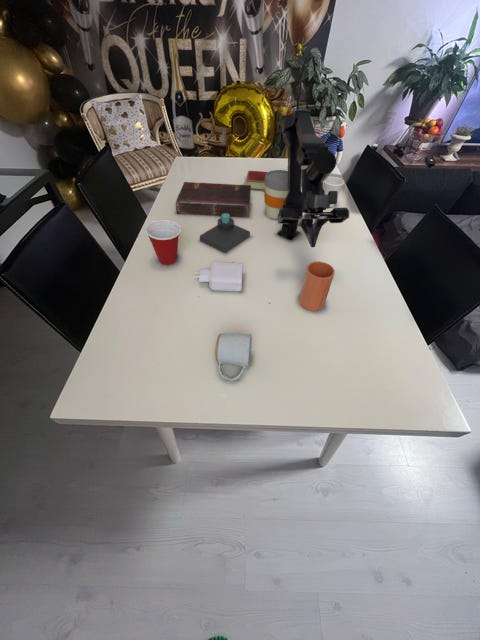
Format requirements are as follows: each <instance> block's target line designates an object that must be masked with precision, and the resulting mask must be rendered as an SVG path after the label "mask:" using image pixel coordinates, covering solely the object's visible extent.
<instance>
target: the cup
mask: <svg viewBox="0 0 480 640" xmlns="http://www.w3.org/2000/svg"><path fill="white" fill-rule="evenodd" d="M334 276H335V268H334V267H333V266H332V265H331V264H330V263H327V262H324V261H312V262H310V263H309V264H307V266H306V270H305V274H304V278H303V282H302V283H303V284H302V287H301V291H300V295H299V301H298V302H299V305H300V306H301V308H303V309H305V310H307V311H310V312H318V311H320V310H322V309H323V308H324V306H325V304H326V300H327V298H328V294H329V292H330V288H331V285H332V282H333V279H334Z"/></svg>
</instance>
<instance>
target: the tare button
mask: <svg viewBox="0 0 480 640" xmlns="http://www.w3.org/2000/svg"><path fill="white" fill-rule="evenodd" d="M221 217H222V223H230V218H231V217H230V215H229V214H227V213H225V214H222V216H221Z"/></svg>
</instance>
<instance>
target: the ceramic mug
mask: <svg viewBox="0 0 480 640" xmlns="http://www.w3.org/2000/svg"><path fill="white" fill-rule="evenodd" d="M252 344H253V336H252V334H249V333H233V332H232V333H230V332H228V333H227V332H222V333H219V334H218V335H217V337H216V340H215V345H214V347H215V348H214V358H215V361H216V363H218V372H219V375H220V376H221V377H222V378H223V379H224V380H226V381H230V382H233V381H237V380H238V379H240V378H241V377H242V376H243V373H244V371H245V369H246V368H249V367H250V363H251V355H252V347H253V346H252ZM222 365H231V366H235V367H240V368H242V369H241V370H240V372H239V374H238V375H236V376H235V377H231V376H228V375H227V374H224V373H223V372H222Z"/></svg>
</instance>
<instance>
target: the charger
mask: <svg viewBox="0 0 480 640" xmlns="http://www.w3.org/2000/svg"><path fill="white" fill-rule="evenodd" d="M243 268H244V263H243V262H225V261H224V262H223V261H214V262H212V263H211V265H210V268H206V269H205V268H201V269H199V270H200V271H199V272H198V271H194V272H193V274H195V275H192V278H198V282H199V283H208V284H209V285H208V286H209V289H210V290H211V291H223V292H226V291H227V292H242V289H243V272H244V271H243Z"/></svg>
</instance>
